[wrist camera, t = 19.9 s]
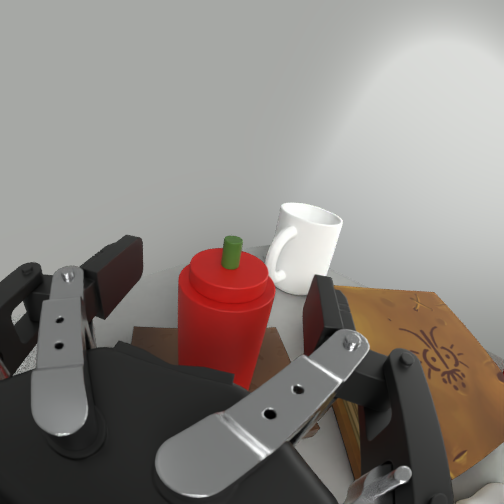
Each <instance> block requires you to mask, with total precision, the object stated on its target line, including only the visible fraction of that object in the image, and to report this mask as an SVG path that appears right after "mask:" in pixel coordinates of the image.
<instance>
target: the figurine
mask: <svg viewBox="0 0 504 504" xmlns="http://www.w3.org/2000/svg"><path fill="white" fill-rule="evenodd" d="M455 504H504V484H502V483H489V484H487V485H486V486H484V487H483V488H481V489H480V490H479V491H478V492H476V493H475V494H474V495H473V496H472V497H470V498H467V499H463V500H459V501H457V502H456V503H455Z"/></svg>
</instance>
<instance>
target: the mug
mask: <svg viewBox="0 0 504 504" xmlns="http://www.w3.org/2000/svg"><path fill="white" fill-rule="evenodd" d="M342 223H343V222H342V219H341V218H340V217H338V216H337V215H335V214H334V213H332V212H330V211H327V210H325V209H322V208H319V207H315V206H312V205H308V204H302V203H285V204H282V206H281V209H280V214H279V218H278V223H277V228H276V232H275V237H274V240H273V242H272V243H271V245H270V247H269V250H268V253H267V256H266V260H265V265H266V266H267V268H268V272H269V277H270V278H271V279H272V280H273V282H274V285H275V287H277V288H278V289H280V290H282V291H284V292H286V293H289V294H293V295H300V296H306V295H308V292H309V289H310V286H311V282H312V279H313V277H314V275H315V274H317V275H322V276H326V275H327V272H328V269H329V266H330V262H331V259H332V256H333V253H334V250H335V247H336V243H337V240H338V237H339V233H340V230H341V226H342Z"/></svg>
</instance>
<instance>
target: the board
mask: <svg viewBox="0 0 504 504" xmlns="http://www.w3.org/2000/svg"><path fill="white" fill-rule="evenodd" d="M131 345H133V346H136V347H139V348H142V349H145V350H146V351H148V352H150V353H151V354H153V355H155V356H156V357H158V358H160V359H162V360H163V361H165V362H167V363H169V364H173V365H179V364H178V328H155V327H136V326H134V329H133V336H132V343H131ZM290 363H291V361H290V359H289V357H288V354H287V352H286V350H285V347H284V345H283V343H282V340H281V338H280V336H279V333H278V331H277V329H276V327H271V328H266V330H265V334H264V338H263V341H262V345H261V348H260V352H259V355H258V359H257V363H256V366H255V369H254V373H253V376H252V380H251V383H250V387H249V390H248V391H249V392H251V393H252V392H253V391H255V390H256V389H257V388H259V387H260V386H261V385H263V384H264V383H266V382H267V381H268V380H270V379H271V378H272V377H274V376H275V375H276V374H277V373H279V372H280V371H281V370H283V369H284V368H285V367H286V366H288V365H289V364H290ZM319 429H320V428H319V425H318V423H316V424H315V425H314V426H313V427H312V428H311V429H310V431H309V432H308V433H307V434H306V435H305V436H304V437H303V438H302V439H304V438H308V437H312V436H314V435H315V434H316V433H317V431H318V430H319Z"/></svg>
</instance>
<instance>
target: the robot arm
mask: <svg viewBox="0 0 504 504" xmlns="http://www.w3.org/2000/svg"><path fill="white" fill-rule="evenodd" d="M142 273H143V242H142V239H141V238H140V237H135V236H130V235H125V236H124V237H122V238H121V239H120V240H118V241H117V242H116V243H113V244H110V245H107V246H106V247H104V248H103V249H102V250H100V252H98V253H97V254H95V256H92V257H91V258H90V259H89V260H87V261H86V262H85V263H84V264H82V265H81V266H80V267H77V266H66V267H62V268H60V269H58V270H57V271H56V272H55V273H54V275H43V274H42V270H41V266H40V264H38V263H33V262H31V263H26V264H23V265H21V266H20V267H18V268H17V269H16V270H15V271H13V272H12V273H11V274H10V275H8V276H7V277H6V278H5V279H3V280H2V281H1V282H0V504H338V502H337V500H336V498H335V497H334V495H333V494H332V493H331V492H330V491H329V490H328V488H327V487H326V486H325V485H324V484H323V482H322V481H321V480H320V479H319V478H318V476H317V475H316V474H315V473H314V472H313V470H312V469H311V468H310V467H309V465H308V464H307V463H306V462H305V460H304V459H303V458H302V457H301V455H300V454H299V453H298V451H297V450H296V449H295V446H296V445H297V444H298V443H299V442H300V441H301V439H302V438H303V437H304V436H305V435H306V434H307V433H308V432H309V431H310V429H311V428H312V427H313V426H314V425H315V424H316V423H317V422H318V421H319V420H320V418H321V417H322V416H323V415H324V414H325V413H326V412H327V411H328V410H329V408H330V407H331V406H332V405H333V404H334V403H335V401H336V400H337V399H338V398H340V399H343V400H346V401H349V402H352V403H354V404H357V407H358V419H359V434H360V456H361V477H360V478H358V479H357V480H355V481H354V482H353V483H352V484H351V485H350V487H349V489H348V492H347V497H346V499H345V501H344V503H343V504H453V503H454V498H453V490H452V483H451V476H450V470H449V464H448V459H447V454H446V449H445V444H444V440H443V436H442V432H441V428H440V424H439V420H438V416H437V412H436V409H435V405H434V402H433V399H432V395H431V392H430V389H429V386H428V383H427V380H426V377H425V374H424V371H423V368H422V365H421V362H420V360H419V359H418V357H417V356H416V355H415V354H414V353H412V352H411V351H409V350H406V349H403V348H396V349H394V350H392V351H391V353H390V354H389V356H386V355H383V354H380V353H378V352H375V351H372V350H371V349H369V348H370V346H369V342H368V341H367V339H366V338H365V337H364V336H363V335H362V334H360V333H359V332H357V331H356V328H355V324H354V321H353V317H352V314H351V313H350V312H351V311H350V307H349V304H348V300H347V297H346V296H345V295H344V294H343V293H342V292H341V290H337V289H334V285H333V281H332V278H331V277H327V276H322V275H317V274H315V275H314V277H313V279H312V282H311V286H310V289H309V292H308V295H307V298H306V301H305V304H304V308H303V337H304V354H302V355H300V356H299V357H298V358H296V359H295V360H294V361H293V362H291V363H290V364H289V365H288V366H286V367H285V368H284V369H283V370H281V371H280V372H279V373H277V374H276V375H275V376H274V377H272V378H271V379H270V380H268V381H267V382H266V383H264V384H263V385H261V386H260V387H259V388H257V389H256V390H255V391H253V392H252V393H251V392H249V391H248V390H246V389H245V388H243V387H241V386H240V385H237V384H235V383H233V381H234V376H235V374H233V373H229V372H224V371H220V370H215V369H211V368H207V367H200V366H184V365H173V364H169V363H167V362H165V361H163V360H162V359H160V358H158V357H156V356H155V355H153V354H151V353H150V352H148V351H146V350H145V349H142V348H139V347H136V346H133V345H130V344H127V343H125V342H122V341H118V342H117V344H116V345H115V347H114V348H109V347H100V348H97V346H96V339H95V330H94V323H93V318H94V317H95V316H96V317H99V318H101V319H104V320H105V319H106V318H107V317H108V316H109V314H110V313H111V312H112V311H113V310H114V308H115V307H116V306H117V305H118V304H119V303H120V301H121V300H122V299H123V298H124V297H125V296H126V294H127V293H128V292H129V291H130V290H131V289H132V288H133V286H134V285H135V284H136V283H137V282H138V281H139V280H140V278H141V276H142ZM22 301H23V302H24V306H25V308H26V311H27V312H26V314H25V315H24V316H23V317H22V318H21V319H20V320H19V321H18V322H17V323H16V324H15V325H13V323H12V320H11V315H12V312H13V310H14V309H15V308H16V307H17V306H18V305H19V304H20V303H21V302H22ZM36 344H37V356H36V368H35V369H32V370H29V371H27V372H24V373H21V374H18V375H15V376H13V374H14V373H15V372H16V370H17V369H18V368H19V366H20V365H21V363H22V362H23V361H24V360H25V358H26V357H27V356H28V354H29V353H30V352H31V350H32V349H33V348H34V347H35V345H36Z"/></svg>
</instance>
